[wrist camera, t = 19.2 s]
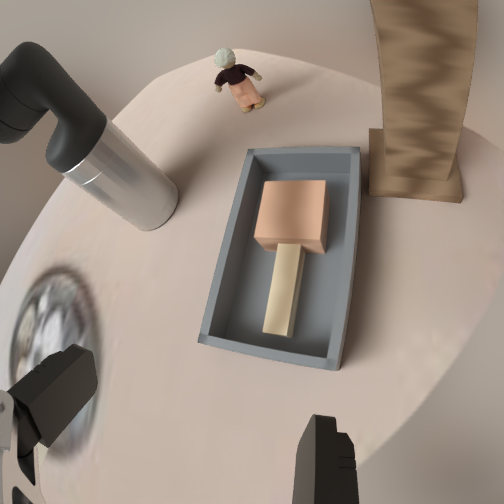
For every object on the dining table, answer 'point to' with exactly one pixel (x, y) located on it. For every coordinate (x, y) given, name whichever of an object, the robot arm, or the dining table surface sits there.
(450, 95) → the brown tall square column
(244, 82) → the grandmother figurine
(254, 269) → the tote
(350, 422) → the dining table surface
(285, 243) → the mallet
